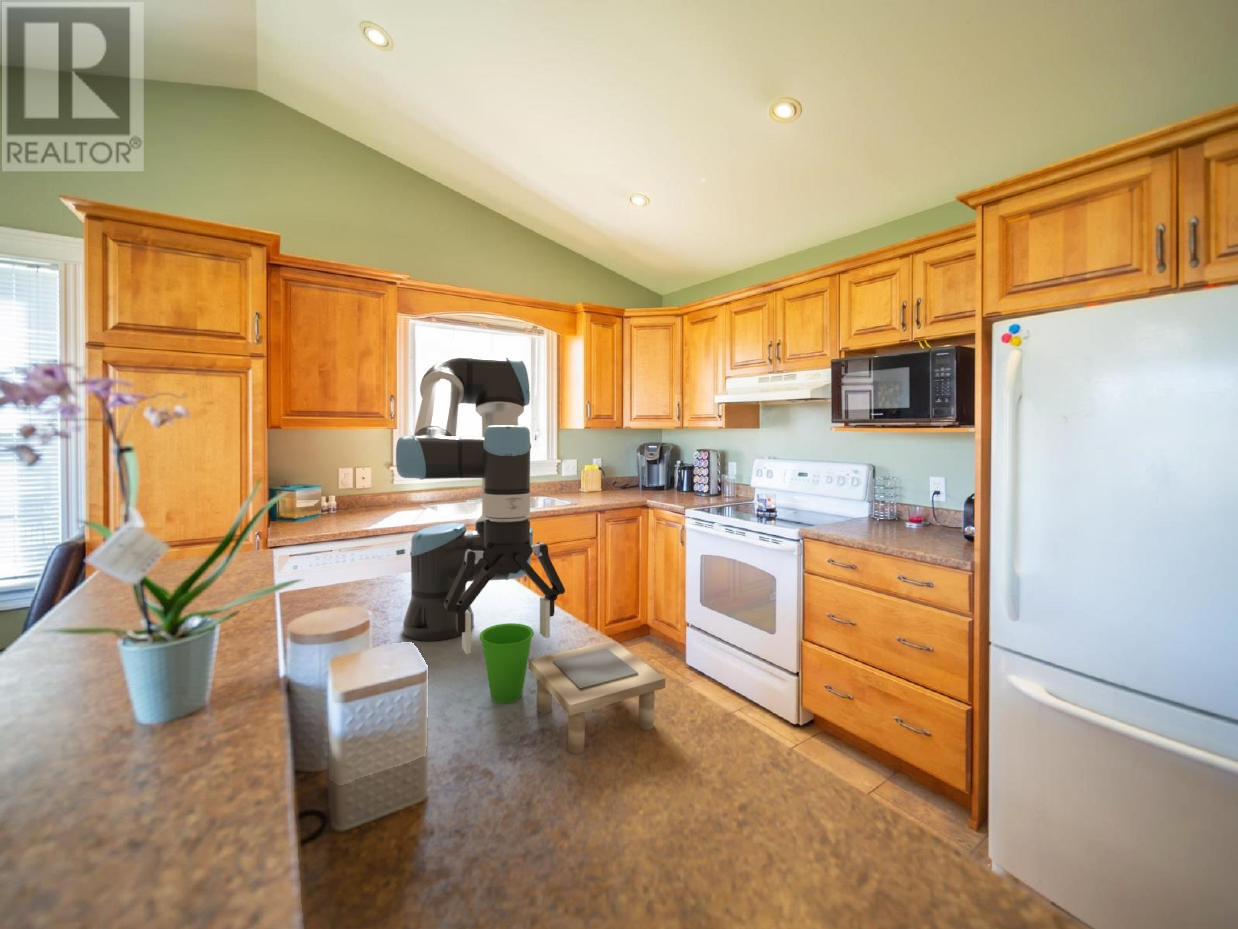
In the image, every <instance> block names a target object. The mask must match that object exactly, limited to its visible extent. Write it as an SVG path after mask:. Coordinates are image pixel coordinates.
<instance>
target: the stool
mask: <svg viewBox="0 0 1238 929" xmlns="http://www.w3.org/2000/svg"><path fill="white" fill-rule="evenodd" d="M528 669H529V671H530V672H531V673H532V674H533V675H534V676H535V677H536V711H537V712H538V713H540V714H541V713H542V714H548V713H549V712H551V711H552V708H553V707H552V706H553V698H554V699H555V700H556V702H557V703H558V704H559V705H560V706H561V707H562V709H563V710H564V711H565V712H566V714H567V722H568V723H567V751H568V753H570V754H572V755H579V754H582V753H583V752H584V751H585V747H586V746H585V745H586V741H585V740H586V738H585V737H586V733H585V732H586V712H587V711H590V710H591V711H593V710H595V709H598V708H601V707H605V706H608V705H612V704H615V703H618V702H622V701H626V700H629V699H632V698H635V697H638V719H637V720H638V728H639V729H640V730H643V731H651V730H653V729H654V727H655V694H656V693H655V692H656V691H659V690H662V689H666V677H664V676H663V675H662V674H660V673H659V672H657V671H656V670H654V669H653V668H652V667H650V666H649V665H648V664H646V663H645V662H644V661H642V660H641V659H640V658H638V657H637V656H635V655H634V654H633V653H632V652H630V651H628V650H627V649H626V648H624V647H623V646H621V645H620V644H619V643H618V642H616V641H615V640H609V641H604V642H600V643H596V644H591V645H586V646H581V647H578V648H573V649H569V650H564V651H559V652H555V653H550V654H546V655H542V656H538V657H537V656H536V657H533V658H528ZM552 697H553V698H552Z"/></svg>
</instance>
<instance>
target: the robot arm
mask: <svg viewBox="0 0 1238 929" xmlns="http://www.w3.org/2000/svg"><path fill="white" fill-rule="evenodd" d="M419 392H420V396H421V402H420V406H419V412H418V415H417V419H416V423H415V428H414V432H413V434H412V435H409V436H408V435H407V436H404V435H403V436H401V437H399V438H398V439H397V442H396V448H395V467H396V471H397V474H398V475H399V476H400V477H401V478H403V479H416V480H417V479H419V480H426V479H427V480H431V479H432V480H433V479H435V480H436V479H482V480H481V483H482V484H481V486H482V487H481V488H482V490H481V491H482V492H481V495H482V501H481V503H482V504H481V506H482V507H481V508H482V509H481V510H482V511H481V516H479V518H477V520H476V521H475V529H467V527H466V524H465V523H462V522H461V523H460V522H457V523H455V522H451V523H448V522H447V523H443V524H436V525H432V526H428V527H425V528H422V529H420V530H418V531H416V532H415V533H414V534H413V535H412V536H411V539H410V540H411V542H410V552H409V556H410V570H411V572H410V573H411V574H410V576H411V578H410V579H411V580H410V583H411V584H410V587H411V590H410V591H411V592H410V595H411V598H410V599H409V600H410V601H409V603H408V606H407V610H406V612H405V616H404V619H403V621H402V622H403V624H402V626H403V627H402V628H403V629H402V630H403V631H402V632H403V635H404V636H405V637H407V638H409V639H412V640H415V641H426V642H433V641H442V640H444V641H445V640H448V639H453V638H457V637H460V636H461V649H462V650H463V652H465V655H468V654H471V653H472V629H473V627H474V625H475V624H474V623H475V622H474V618H475V617H474V616H475V615H474V612H473V609H472V607H471V606H472V604H473V603H474V601H475V600H476V599H477V597H478V596H480V594H481V592H482V591H483V589H484V588H485V587H486V585H488V583H489V582H490V581H501V580H502V581H503V580H506V581H509V580H513V579H521V578H524V577H525V576H527V577H528V578H529V579H530V580H531V582H532V583H533V584H534V585H535V586H536V588H538V589H539V591H541V592H542V593H543V595H544V596H540V597H539V634H540V635H541V636H542V637H544V638H545V639H547V638H548V639H549V638H551V637H550V636H551V633H550V632H551V626H550V625H551V622H550V620H551V617H552V618H553V617H554V616H555V601H556V600H557V599H558V596H560V595H564V594H565V592H566V588H565V587H564V585H563V583H562V580H561V579H560V577H559V574H558V573H557V570H556V568H555V566H554V564H553V563H552V560H551V558H550V556H549V547H548V546H549V545H548V544H547V543H543V542H541V541H538V542H536V544H533V540H534V538H533V536H534V535H533V534H534V531H533V528H531V521H530V520H529V518H527V517H529V516H530V515H531V487H530V480H531V450H532V444H531V432H530V429H529V428H528V427H526V426H525V425H519V417H520V416H521V415H522V414H523V413H524V412H525V407H526V406H528V405H529V404H530V400H531V395H530V394H531V393H530V382H529V375H528V370H527V367H526V364H525V363H524V361H523V360H521V359H519V358H515V357H514V358H513V357H508V356H503V357H499V356H479V355H468V354H467V355H466V354H465V355H463V354H462V355H454V356H449V357H447V358H444V359H442V360H440V361H438V362H437V363H435V364H433V366H431V367H430V368H428V370H427V371H426V372H425V373H424V375H423V376H422V378H421V381H420V387H419ZM460 404H470V405H471V404H472V405H475V412H476V413H477V414H478V415H479V416H480V417H481V436H457V428H458V415H459V413H458V412H459V405H460ZM532 554H534V556H536V557H537V558H538V560H539V563H540V564H541V567H542V568H543V570H544V573H545V575H546V578H547V579H548V581H549V582H550V585H551V586H552V587H550V586H549V585H548V584H547V583H546V581H544V579H542V577H541V576H540V575H539V574H538V573H537V572H536V570H534V568H533V567H532V565H531V559H532ZM468 582H471V583H470V585H469V586H468V588H467V583H468ZM466 588H467V589H466Z"/></svg>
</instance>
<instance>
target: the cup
mask: <svg viewBox="0 0 1238 929" xmlns="http://www.w3.org/2000/svg"><path fill="white" fill-rule="evenodd" d="M534 635H535V632H534V630H533V629H532V627H530V626H528V625H526V624H523V623H516V622H515V623H513V622H511V623H508V622H507V623H499V624H495V625H491V626H488V627H486V628H484V629H482V631H481V632H480V633H479V640H480V641H481V643H482V649H483V656H484V660H485V661H484V662H485V666H486V668H485V669H486V672H487V680H488V685H489V692H490V696H491V698H492V700H493V701H494V702H496V703H500V704H509V703H513V702H516V701H518V700H519V699H520V698H521V697H522V694H523V692H524V685H525V679H526V674H527V673H526V672H527V668H528V667H527V666H528V663H529V655H530V649H531V642H532V638H533V637H534Z"/></svg>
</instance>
